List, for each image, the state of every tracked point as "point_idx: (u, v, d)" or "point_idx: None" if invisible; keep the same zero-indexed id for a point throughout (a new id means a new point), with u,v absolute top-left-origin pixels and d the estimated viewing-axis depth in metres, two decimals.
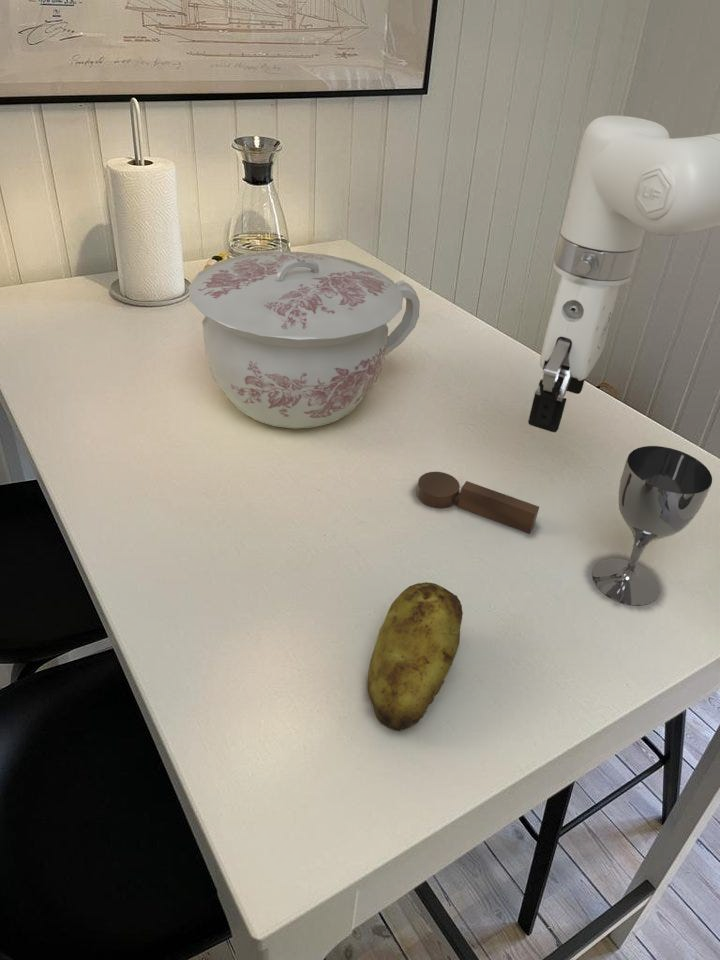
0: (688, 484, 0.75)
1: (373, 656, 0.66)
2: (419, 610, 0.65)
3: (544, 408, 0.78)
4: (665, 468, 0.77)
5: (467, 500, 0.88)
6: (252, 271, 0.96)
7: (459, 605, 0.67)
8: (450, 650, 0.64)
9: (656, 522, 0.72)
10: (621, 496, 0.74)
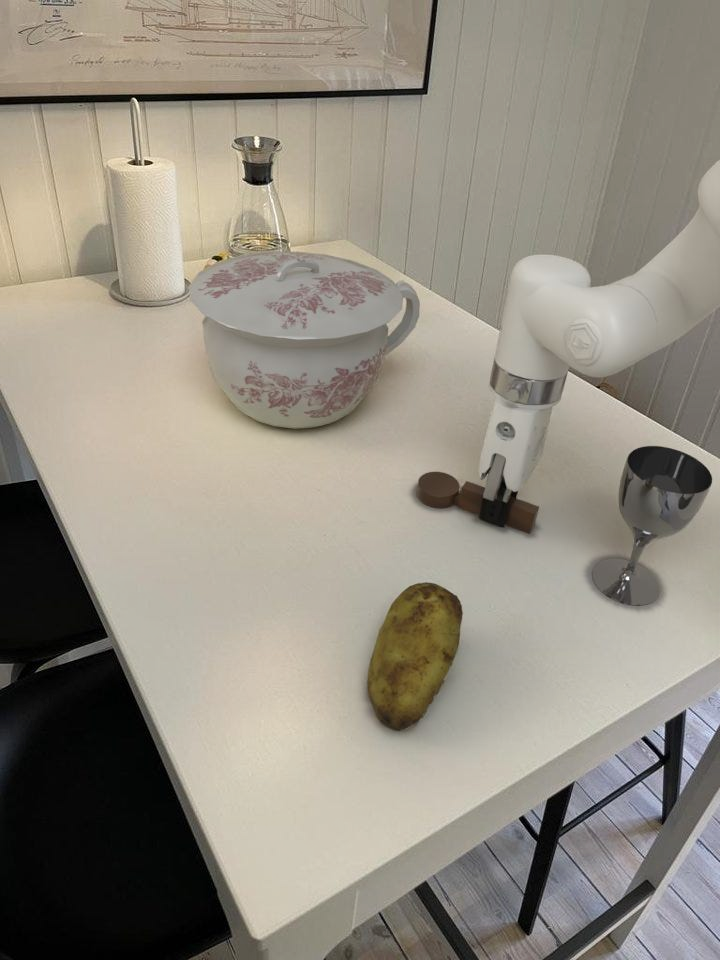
0: (688, 484, 0.75)
1: (373, 656, 0.66)
2: (419, 610, 0.65)
3: (492, 507, 0.85)
4: (665, 468, 0.77)
5: (467, 500, 0.88)
6: (252, 271, 0.96)
7: (459, 605, 0.67)
8: (450, 650, 0.64)
9: (656, 522, 0.72)
10: (621, 496, 0.74)
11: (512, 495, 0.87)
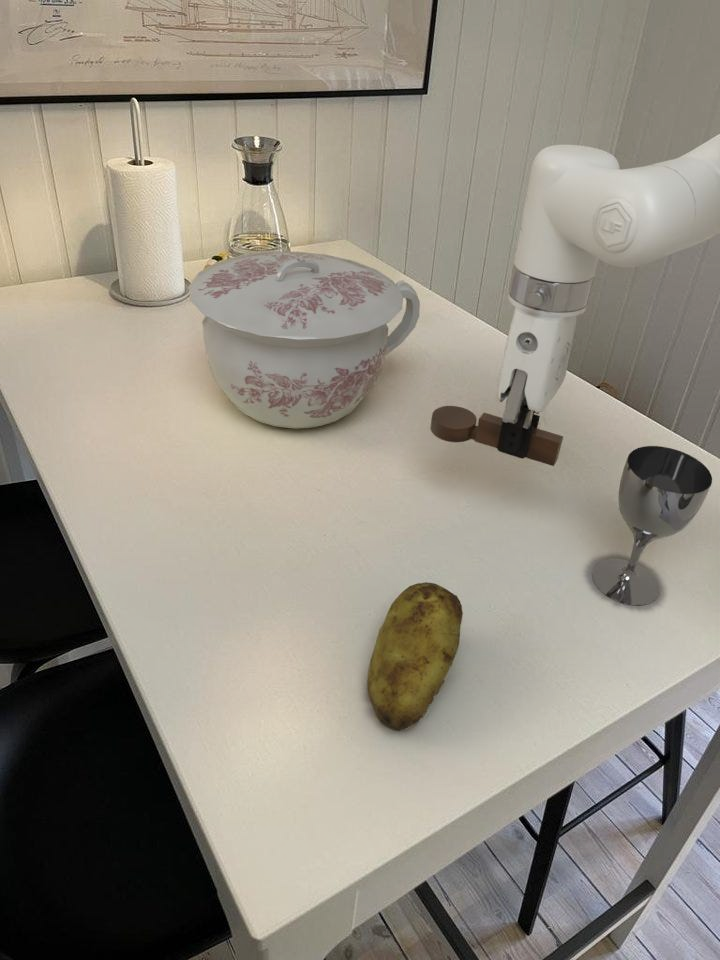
0: (688, 484, 0.75)
1: (373, 656, 0.66)
2: (419, 610, 0.65)
3: (511, 435, 0.79)
4: (665, 468, 0.77)
5: (485, 432, 0.82)
6: (252, 271, 0.96)
7: (459, 605, 0.67)
8: (450, 650, 0.64)
9: (656, 522, 0.72)
10: (621, 496, 0.74)
11: (533, 424, 0.81)
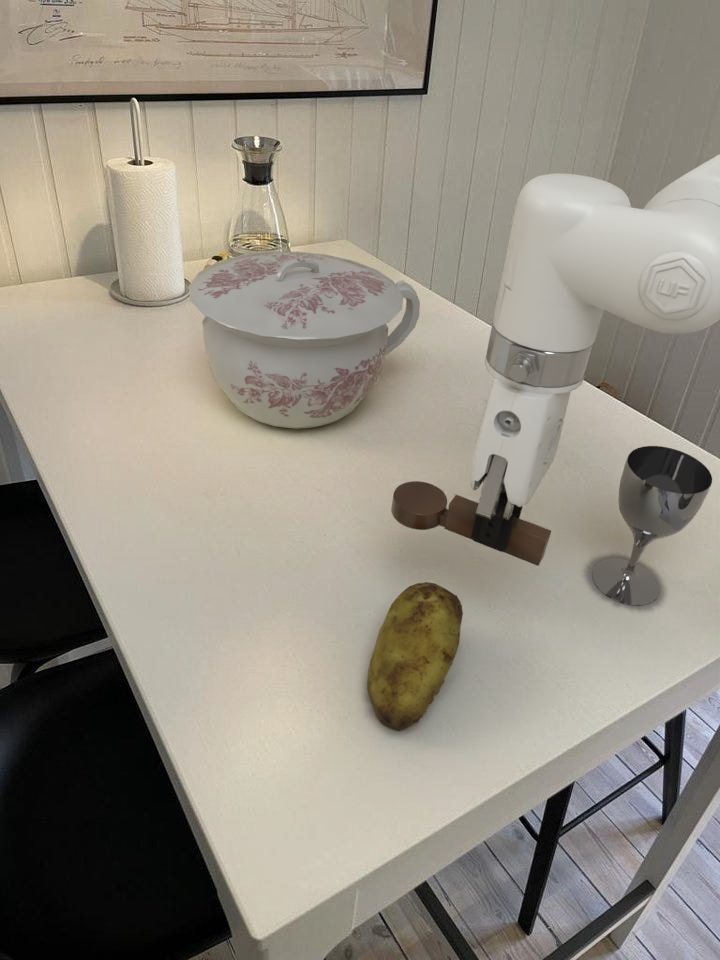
0: (688, 484, 0.75)
1: (373, 656, 0.66)
2: (419, 610, 0.65)
3: (488, 525, 0.64)
4: (665, 468, 0.77)
5: (457, 520, 0.67)
6: (252, 271, 0.96)
7: (459, 605, 0.67)
8: (450, 650, 0.64)
9: (656, 522, 0.72)
10: (621, 496, 0.74)
11: (515, 509, 0.66)
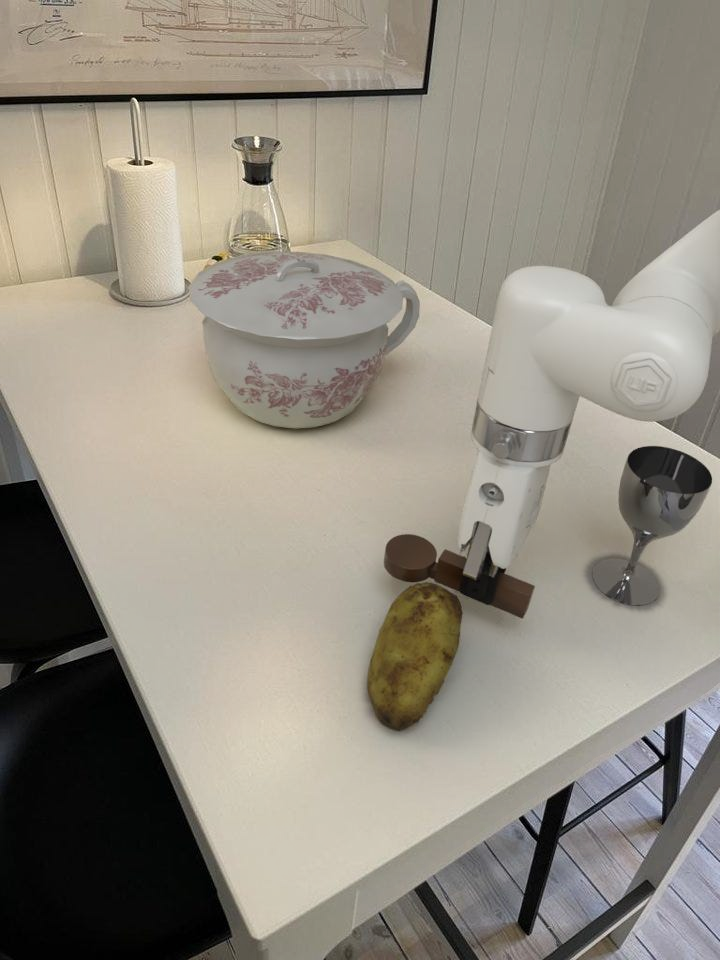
0: (688, 484, 0.75)
1: (373, 656, 0.66)
2: (419, 610, 0.65)
3: (475, 581, 0.68)
4: (665, 468, 0.77)
5: (445, 574, 0.71)
6: (252, 271, 0.96)
7: (459, 605, 0.67)
8: (450, 650, 0.64)
9: (656, 522, 0.72)
10: (621, 496, 0.74)
11: None
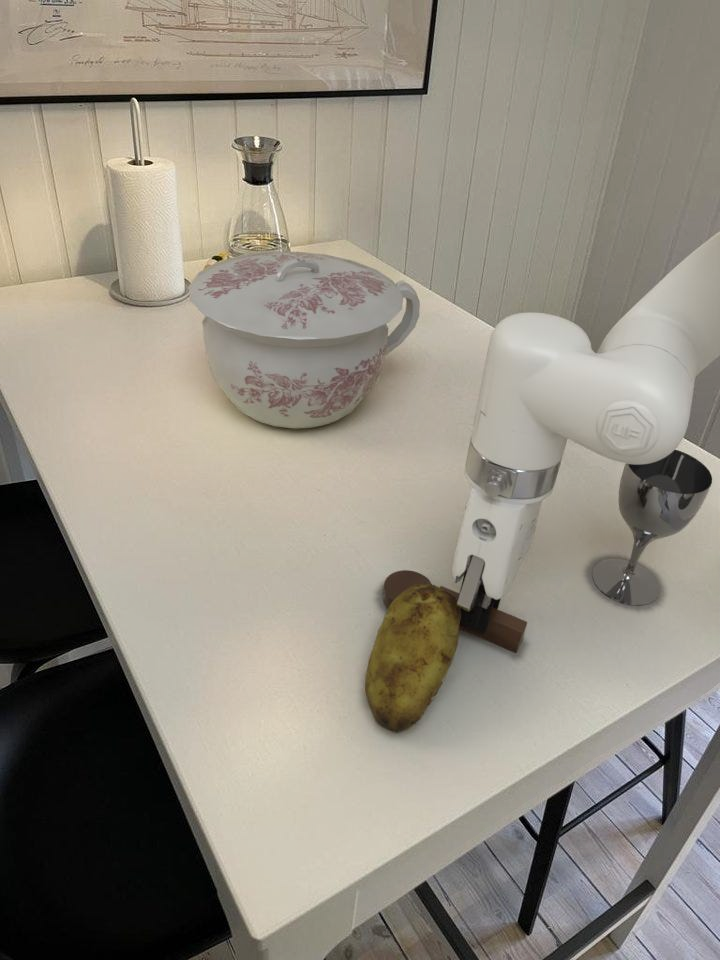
0: (688, 484, 0.75)
1: (371, 657, 0.66)
2: (417, 611, 0.65)
3: (469, 612, 0.70)
4: (665, 468, 0.77)
5: None
6: (252, 271, 0.96)
7: None
8: (448, 651, 0.64)
9: (656, 522, 0.72)
10: (621, 496, 0.74)
11: None
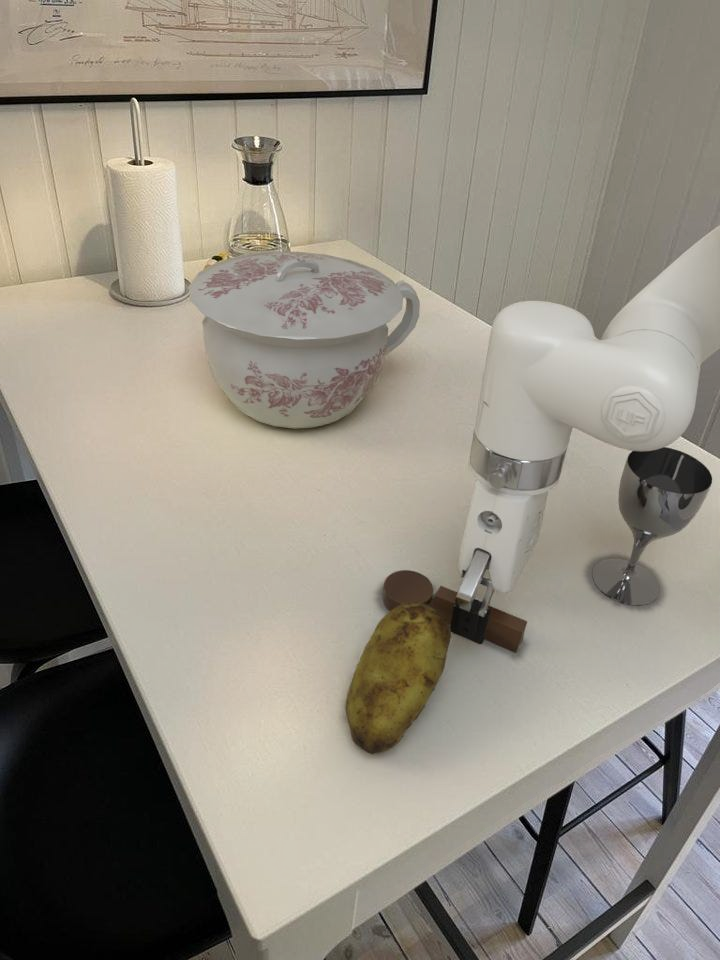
0: (688, 484, 0.75)
1: (354, 674, 0.64)
2: (404, 631, 0.63)
3: (465, 621, 0.66)
4: (665, 468, 0.77)
5: (441, 609, 0.74)
6: (252, 271, 0.96)
7: (447, 628, 0.65)
8: (432, 674, 0.62)
9: (656, 522, 0.72)
10: (621, 496, 0.74)
11: None
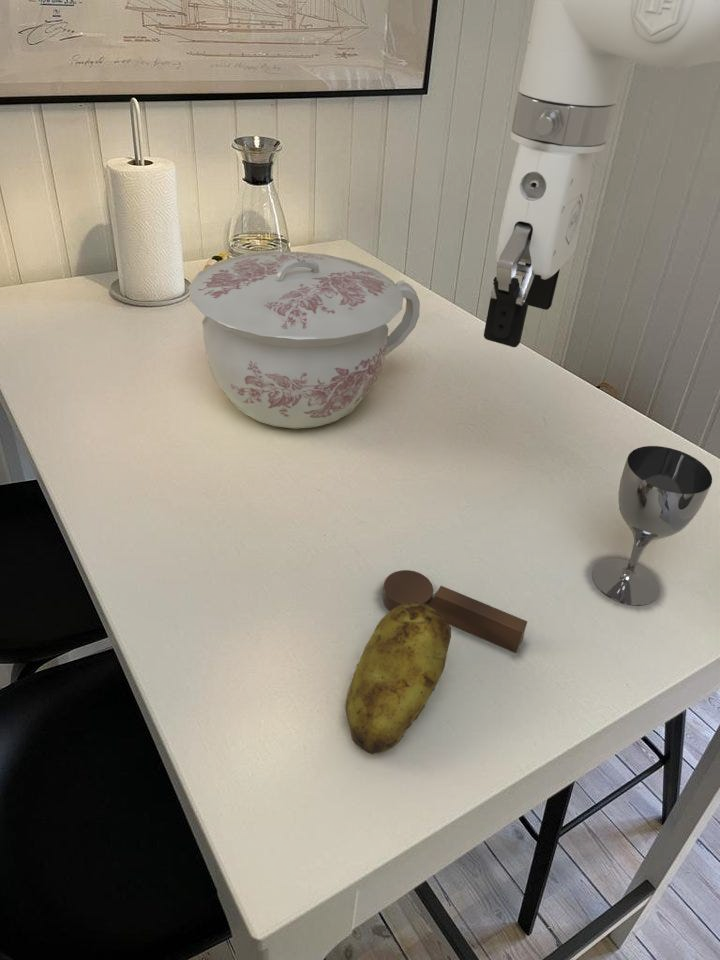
0: (688, 484, 0.75)
1: (354, 674, 0.64)
2: (404, 631, 0.63)
3: (501, 316, 0.64)
4: (665, 468, 0.77)
5: (441, 609, 0.74)
6: (252, 271, 0.96)
7: (447, 628, 0.65)
8: (432, 674, 0.62)
9: (656, 522, 0.72)
10: (621, 496, 0.74)
11: (552, 278, 0.71)
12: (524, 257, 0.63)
